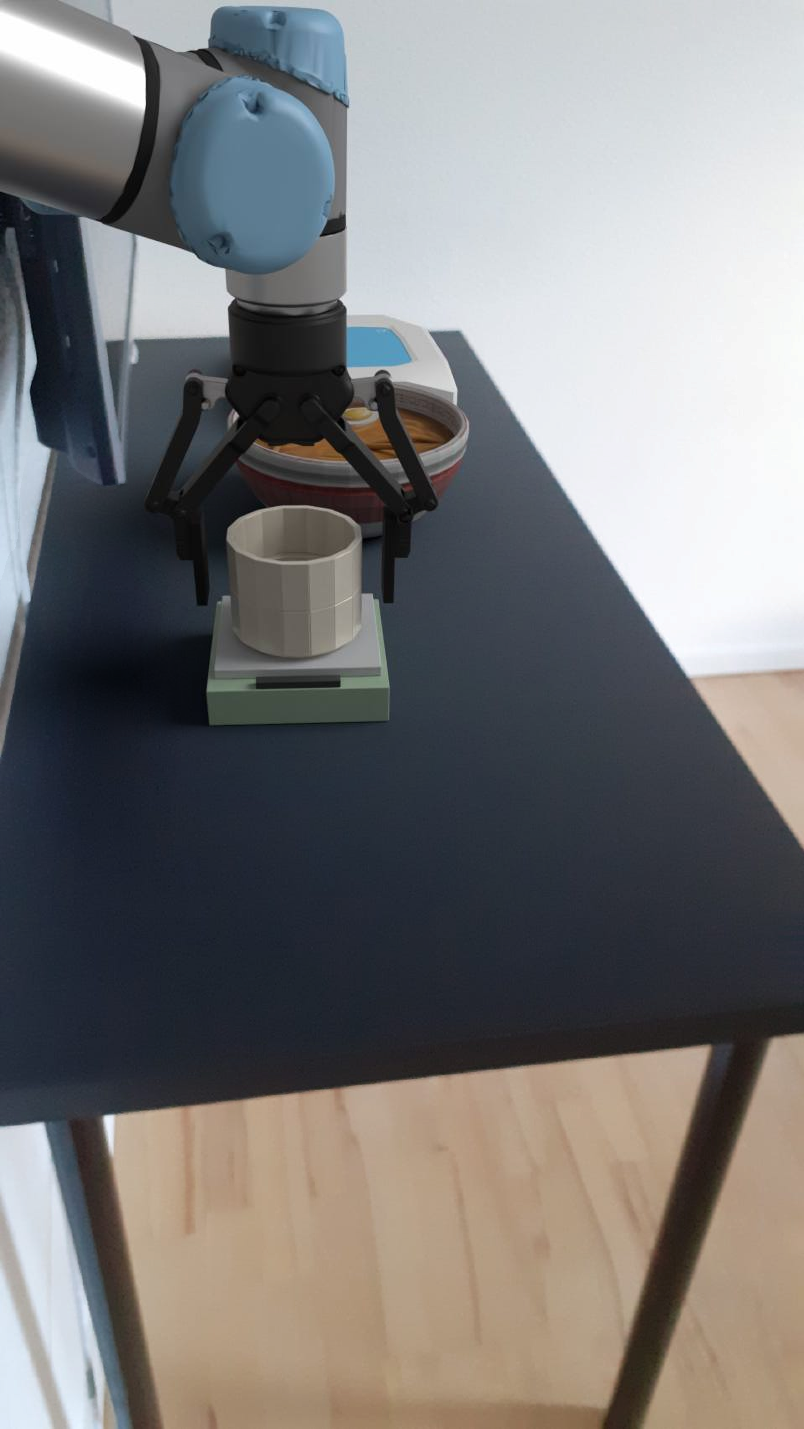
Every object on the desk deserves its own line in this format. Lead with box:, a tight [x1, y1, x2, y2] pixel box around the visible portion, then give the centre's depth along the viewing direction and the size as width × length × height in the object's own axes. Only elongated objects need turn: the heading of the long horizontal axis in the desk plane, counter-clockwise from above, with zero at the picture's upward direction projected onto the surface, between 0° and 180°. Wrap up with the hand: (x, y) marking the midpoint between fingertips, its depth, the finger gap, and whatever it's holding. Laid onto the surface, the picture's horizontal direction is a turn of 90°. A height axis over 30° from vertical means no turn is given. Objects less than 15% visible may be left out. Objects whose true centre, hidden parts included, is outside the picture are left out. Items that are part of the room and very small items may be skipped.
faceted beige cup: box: [225, 505, 363, 658], centre depth 80 cm, size 10×10×8 cm
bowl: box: [226, 384, 470, 539], centre depth 105 cm, size 23×23×10 cm
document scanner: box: [347, 314, 458, 407], centre depth 135 cm, size 21×28×6 cm
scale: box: [205, 593, 391, 726], centre depth 83 cm, size 13×13×4 cm
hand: (296, 596), depth 80 cm, fingers open, 13 cm apart
